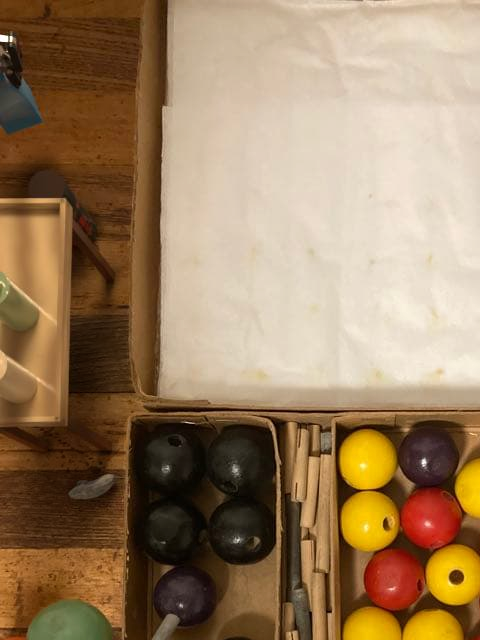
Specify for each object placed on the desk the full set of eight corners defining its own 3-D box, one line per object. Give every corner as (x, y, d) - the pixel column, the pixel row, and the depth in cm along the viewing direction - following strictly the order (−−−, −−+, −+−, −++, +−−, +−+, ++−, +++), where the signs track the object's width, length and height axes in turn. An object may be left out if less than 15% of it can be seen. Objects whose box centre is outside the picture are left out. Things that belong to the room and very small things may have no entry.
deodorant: (60, 242, 150) (24, 201, 136) (67, 211, 151) (32, 167, 136) (93, 249, 150) (60, 208, 136) (100, 217, 151) (68, 173, 136)
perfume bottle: (30, 89, 141) (-2, 39, 129) (43, 122, 140) (12, 75, 128) (-5, 102, 140) (-41, 53, 128) (7, 134, 140) (-27, 89, 128)
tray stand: (34, 455, 147) (-38, 422, 122) (40, 268, 150) (-30, 198, 125) (115, 455, 147) (59, 421, 122) (118, 267, 150) (65, 197, 125)
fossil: (116, 471, 147) (107, 466, 142) (123, 489, 146) (114, 485, 142) (71, 488, 146) (60, 484, 141) (78, 507, 146) (67, 503, 141)
